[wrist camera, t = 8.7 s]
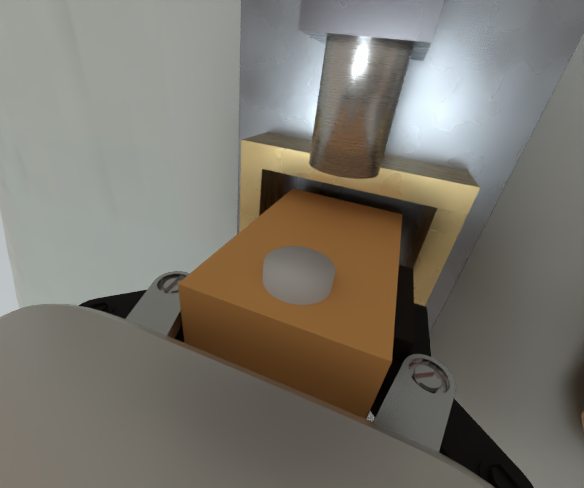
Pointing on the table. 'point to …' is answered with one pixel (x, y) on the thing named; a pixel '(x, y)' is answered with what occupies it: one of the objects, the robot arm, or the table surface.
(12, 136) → the table surface
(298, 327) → the block
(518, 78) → the shaft stand
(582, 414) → the desk lamp
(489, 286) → the table surface
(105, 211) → the table surface
